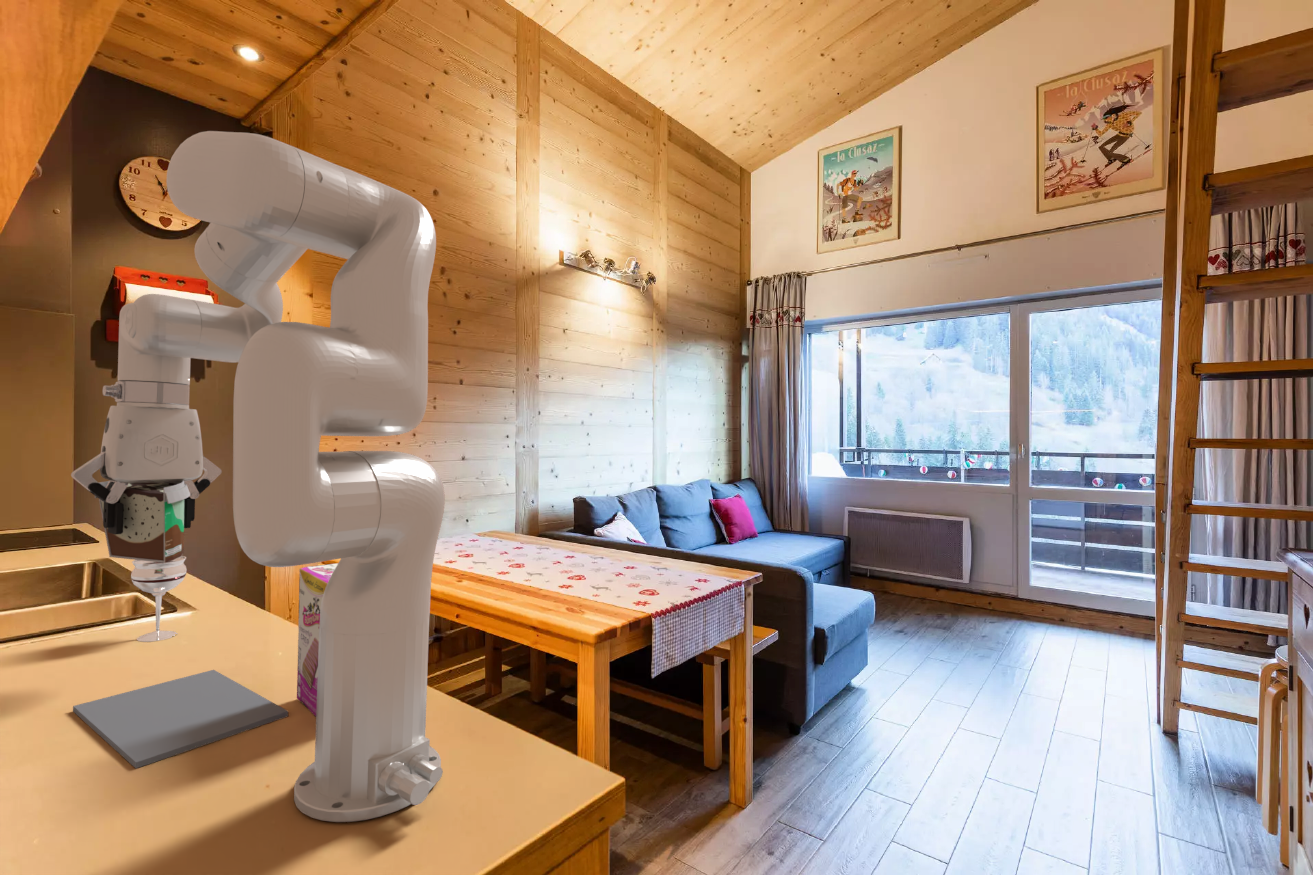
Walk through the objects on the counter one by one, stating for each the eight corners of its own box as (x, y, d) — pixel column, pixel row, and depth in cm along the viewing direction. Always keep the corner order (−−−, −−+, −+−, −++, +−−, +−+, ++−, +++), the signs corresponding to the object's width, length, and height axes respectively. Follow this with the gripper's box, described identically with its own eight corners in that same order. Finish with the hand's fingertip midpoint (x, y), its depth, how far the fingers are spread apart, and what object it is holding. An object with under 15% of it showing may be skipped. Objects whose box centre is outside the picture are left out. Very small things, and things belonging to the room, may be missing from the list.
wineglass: (161, 627, 100) (163, 554, 99) (195, 631, 98) (198, 557, 98) (116, 640, 93) (119, 562, 93) (153, 645, 92) (155, 565, 91)
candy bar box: (293, 700, 75) (297, 567, 75) (336, 688, 79) (340, 561, 79) (325, 732, 68) (330, 584, 67) (372, 718, 71) (376, 577, 71)
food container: (218, 549, 85) (212, 478, 84) (174, 563, 79) (167, 487, 78) (148, 542, 88) (141, 474, 86) (100, 556, 82) (92, 482, 81)
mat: (287, 716, 71) (288, 710, 71) (135, 768, 59) (136, 762, 59) (213, 674, 82) (213, 669, 82) (72, 711, 70) (73, 705, 70)
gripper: (76, 391, 73) (71, 541, 73) (239, 401, 87) (235, 526, 87) (57, 392, 77) (53, 534, 77) (216, 401, 91) (213, 521, 91)
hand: (150, 528), depth 82 cm, fingers closed on food container, 6 cm apart
